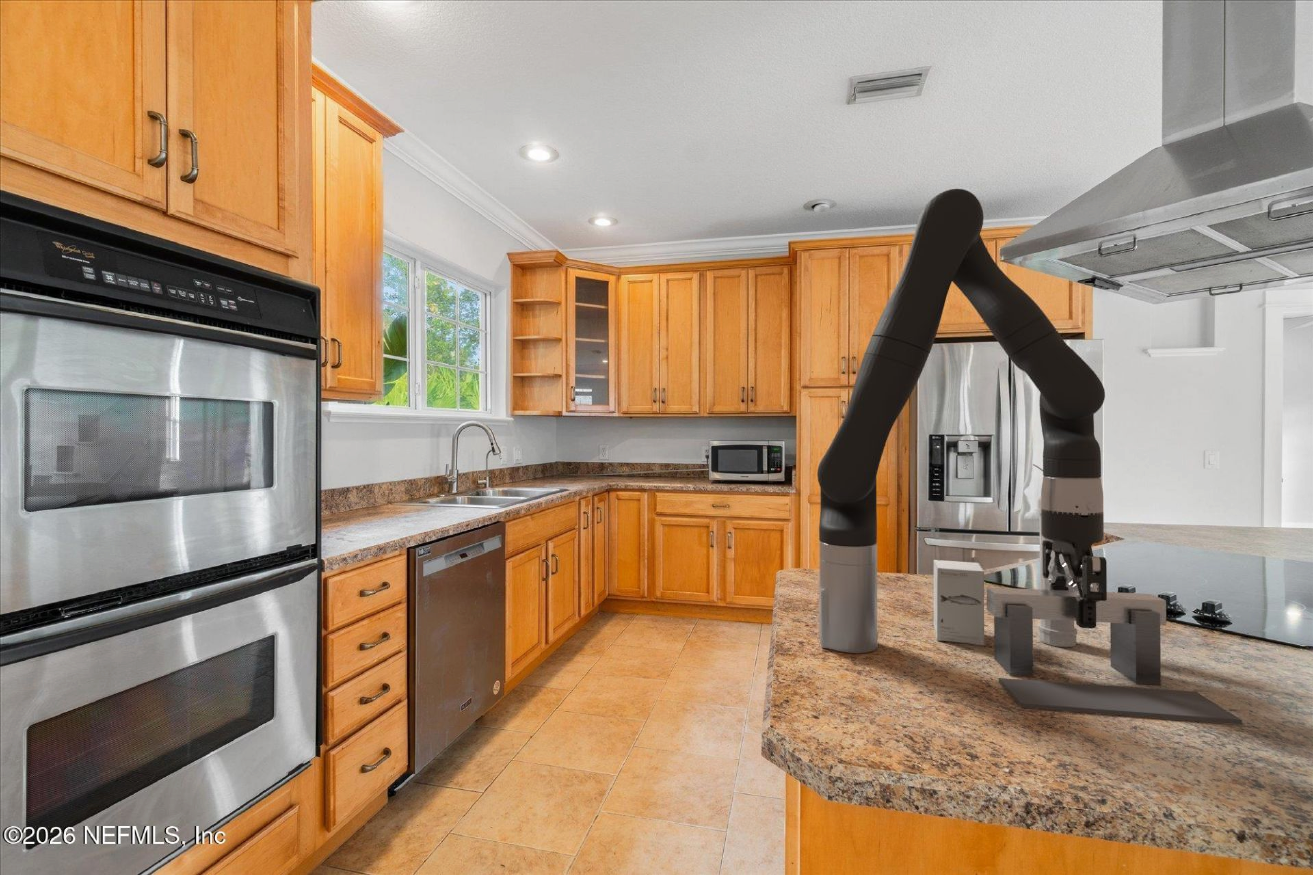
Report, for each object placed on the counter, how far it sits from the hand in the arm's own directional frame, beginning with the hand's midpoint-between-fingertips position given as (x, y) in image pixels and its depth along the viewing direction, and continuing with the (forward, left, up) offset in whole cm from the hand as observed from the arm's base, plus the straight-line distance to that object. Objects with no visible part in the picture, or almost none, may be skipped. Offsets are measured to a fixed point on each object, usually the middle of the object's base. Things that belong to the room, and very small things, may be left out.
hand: (1072, 618), depth 87 cm
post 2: (+8, 0, -8) cm, 11 cm away
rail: (0, 0, 0) cm, 0 cm away
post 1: (-8, 0, -8) cm, 11 cm away
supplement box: (-12, +13, -8) cm, 19 cm away
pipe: (+3, +13, -8) cm, 16 cm away
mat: (0, -10, -8) cm, 13 cm away
